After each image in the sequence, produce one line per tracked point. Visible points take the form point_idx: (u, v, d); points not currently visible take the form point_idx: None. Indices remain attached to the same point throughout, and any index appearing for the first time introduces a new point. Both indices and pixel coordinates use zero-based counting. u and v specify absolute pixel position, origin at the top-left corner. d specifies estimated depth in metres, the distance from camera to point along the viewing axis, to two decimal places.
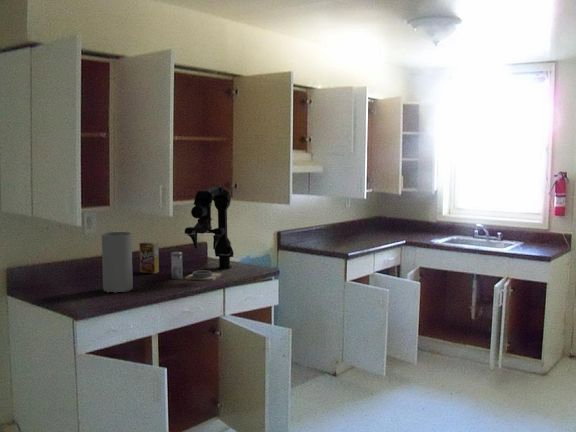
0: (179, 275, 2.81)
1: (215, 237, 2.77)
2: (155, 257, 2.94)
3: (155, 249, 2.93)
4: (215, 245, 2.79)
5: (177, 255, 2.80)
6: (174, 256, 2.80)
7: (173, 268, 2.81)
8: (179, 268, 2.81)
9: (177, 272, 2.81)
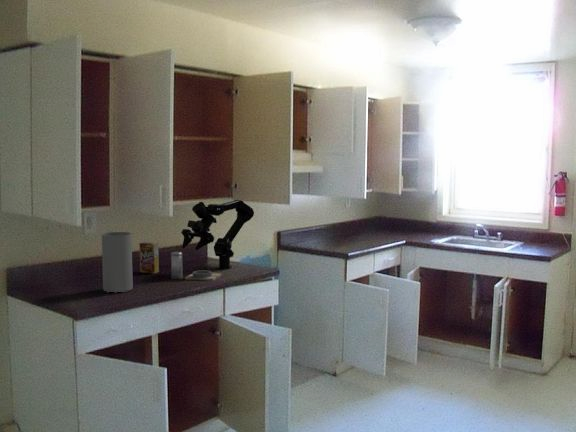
0: (179, 275, 2.81)
1: (201, 237, 2.86)
2: (155, 257, 2.94)
3: (155, 249, 2.93)
4: (198, 246, 2.86)
5: (177, 255, 2.80)
6: (174, 256, 2.80)
7: (173, 268, 2.81)
8: (179, 268, 2.81)
9: (177, 272, 2.81)
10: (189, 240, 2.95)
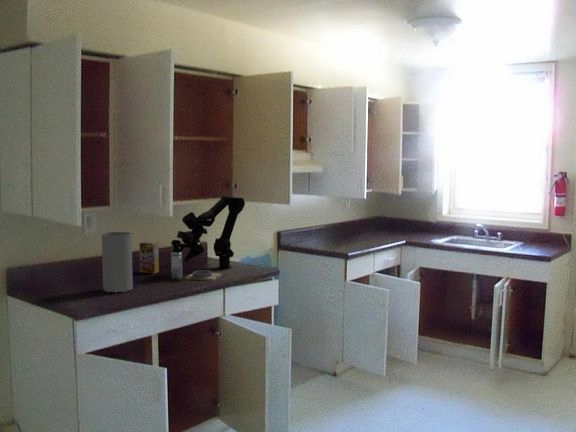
0: (179, 275, 2.81)
1: (191, 248, 2.81)
2: (155, 257, 2.94)
3: (155, 249, 2.93)
4: (187, 258, 2.81)
5: (177, 255, 2.80)
6: (174, 256, 2.80)
7: (173, 268, 2.81)
8: (179, 268, 2.81)
9: (177, 272, 2.81)
10: (179, 251, 2.90)
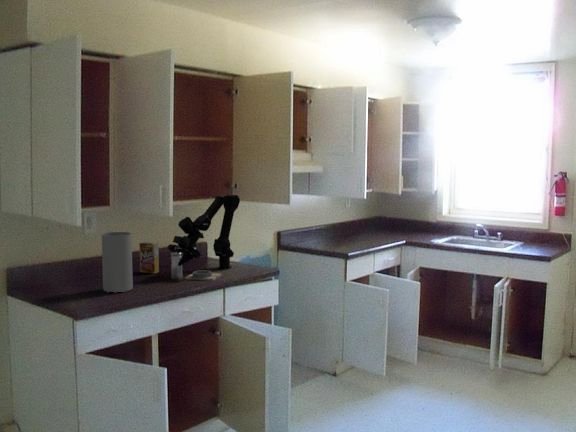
0: (179, 275, 2.81)
1: (184, 253, 2.81)
2: (155, 257, 2.94)
3: (155, 249, 2.93)
4: (181, 262, 2.80)
5: (177, 255, 2.80)
6: (174, 256, 2.80)
7: (173, 268, 2.81)
8: (179, 268, 2.81)
9: (177, 272, 2.81)
10: None
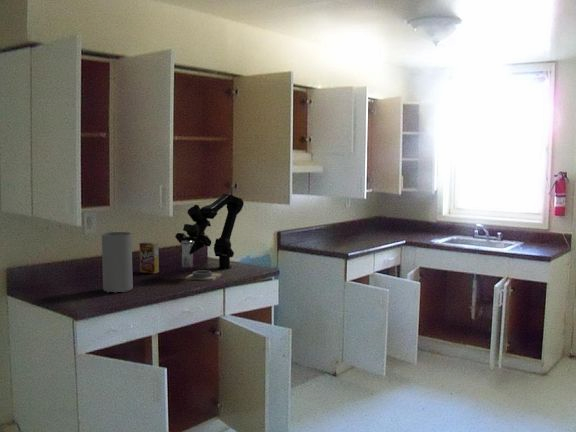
0: (190, 263, 2.80)
1: (196, 241, 2.80)
2: (155, 257, 2.94)
3: (155, 249, 2.93)
4: (193, 250, 2.80)
5: (188, 243, 2.79)
6: (185, 244, 2.79)
7: (184, 256, 2.79)
8: (190, 256, 2.80)
9: (188, 260, 2.80)
10: None
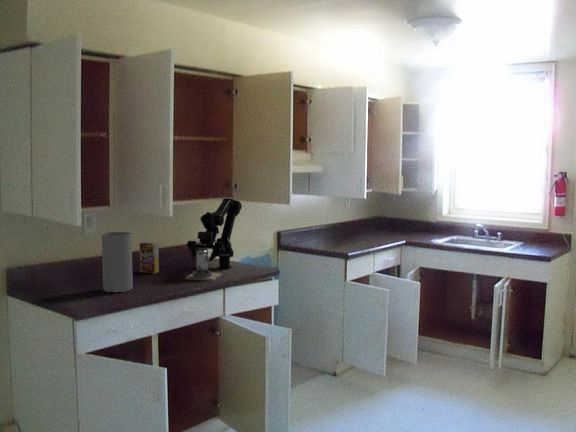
0: None
1: (214, 248, 2.81)
2: (155, 257, 2.94)
3: (155, 249, 2.93)
4: (212, 258, 2.81)
5: (204, 253, 2.80)
6: (201, 254, 2.79)
7: (200, 266, 2.80)
8: (206, 265, 2.81)
9: (204, 270, 2.81)
10: None
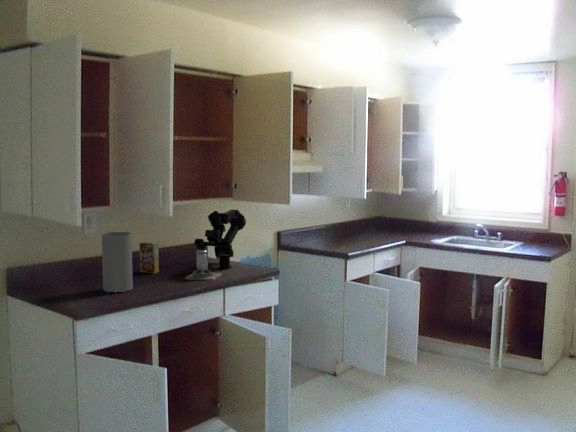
0: None
1: (221, 246, 2.89)
2: (155, 257, 2.94)
3: (155, 249, 2.93)
4: (219, 255, 2.88)
5: (204, 253, 2.80)
6: (201, 254, 2.80)
7: (200, 266, 2.80)
8: (206, 265, 2.81)
9: (204, 270, 2.81)
10: (203, 249, 2.95)
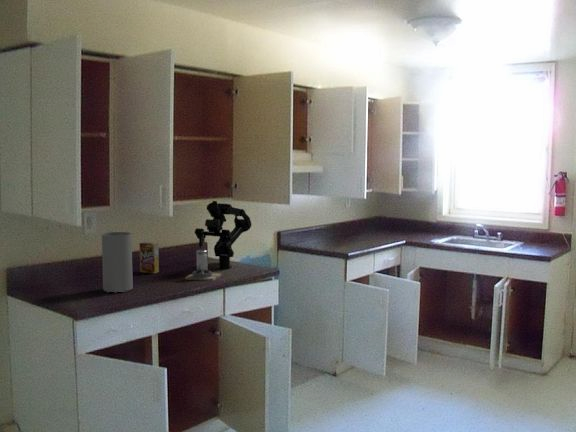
0: None
1: (221, 236, 2.91)
2: (155, 257, 2.94)
3: (155, 249, 2.93)
4: (219, 245, 2.90)
5: (204, 253, 2.80)
6: (201, 254, 2.79)
7: (200, 266, 2.80)
8: (206, 265, 2.81)
9: (204, 270, 2.81)
10: (203, 239, 2.97)
